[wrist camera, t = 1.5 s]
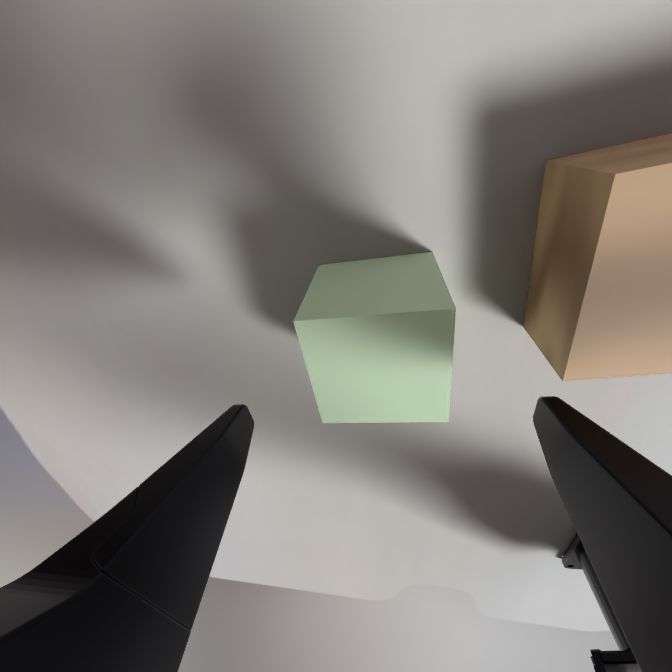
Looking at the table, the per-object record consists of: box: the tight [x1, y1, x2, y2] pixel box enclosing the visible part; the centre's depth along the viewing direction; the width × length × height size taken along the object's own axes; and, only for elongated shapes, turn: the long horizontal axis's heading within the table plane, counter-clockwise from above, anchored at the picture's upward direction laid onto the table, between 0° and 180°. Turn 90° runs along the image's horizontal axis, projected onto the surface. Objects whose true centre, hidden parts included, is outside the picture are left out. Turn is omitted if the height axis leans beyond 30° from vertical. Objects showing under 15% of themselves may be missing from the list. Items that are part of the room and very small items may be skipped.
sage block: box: [293, 252, 456, 423], centre depth 13 cm, size 5×5×5 cm
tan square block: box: [523, 133, 672, 381], centre depth 10 cm, size 7×7×4 cm
